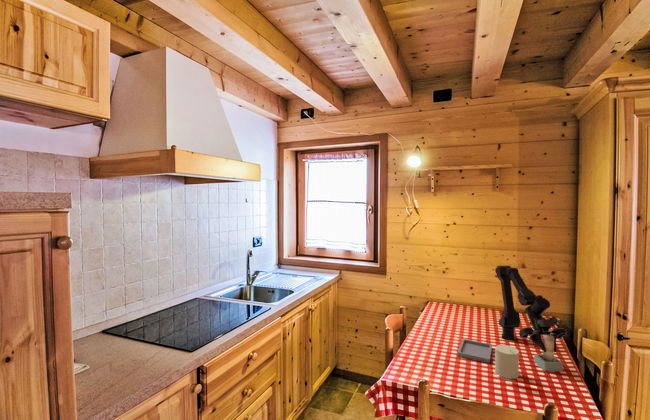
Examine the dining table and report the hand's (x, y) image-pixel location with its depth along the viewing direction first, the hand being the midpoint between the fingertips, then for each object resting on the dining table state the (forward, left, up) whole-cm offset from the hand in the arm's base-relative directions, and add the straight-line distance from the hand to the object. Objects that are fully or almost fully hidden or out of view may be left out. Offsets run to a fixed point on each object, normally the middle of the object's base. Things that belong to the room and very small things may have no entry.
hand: (550, 351), depth 147 cm
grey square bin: (-1, -1, -9) cm, 9 cm away
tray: (-3, -31, -9) cm, 32 cm away
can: (+14, -17, -9) cm, 23 cm away
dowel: (-1, -1, -6) cm, 6 cm away
